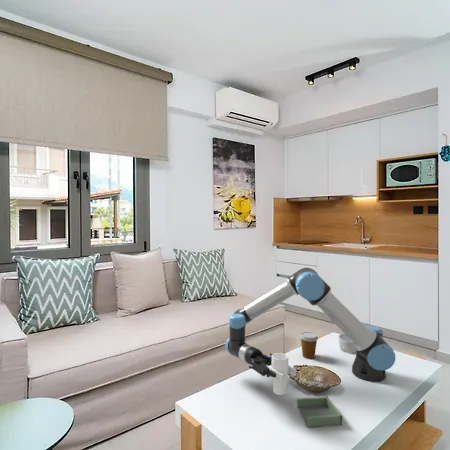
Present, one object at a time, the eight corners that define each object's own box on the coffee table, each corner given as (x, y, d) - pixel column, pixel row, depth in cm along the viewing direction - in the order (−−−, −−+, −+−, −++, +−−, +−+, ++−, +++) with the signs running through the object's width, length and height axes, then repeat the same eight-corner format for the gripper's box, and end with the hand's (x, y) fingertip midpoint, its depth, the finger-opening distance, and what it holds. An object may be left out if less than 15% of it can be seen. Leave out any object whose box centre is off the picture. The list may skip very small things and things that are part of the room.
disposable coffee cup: (318, 360, 176) (318, 338, 175) (299, 359, 178) (300, 337, 177) (317, 353, 185) (317, 332, 185) (299, 351, 187) (299, 330, 187)
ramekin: (366, 349, 191) (366, 337, 190) (357, 356, 181) (357, 344, 181) (344, 343, 200) (344, 331, 199) (334, 349, 190) (334, 337, 190)
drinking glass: (269, 388, 139) (269, 353, 138) (285, 387, 139) (285, 352, 138) (273, 397, 132) (273, 360, 131) (290, 396, 132) (290, 359, 132)
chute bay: (327, 404, 136) (327, 396, 136) (342, 425, 123) (342, 415, 123) (296, 406, 135) (296, 398, 135) (308, 427, 122) (308, 418, 122)
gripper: (266, 357, 155) (305, 377, 137) (233, 369, 144) (271, 393, 125) (266, 341, 155) (305, 359, 137) (233, 352, 144) (271, 373, 125)
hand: (289, 375), depth 131 cm, fingers closed on drinking glass, 6 cm apart
